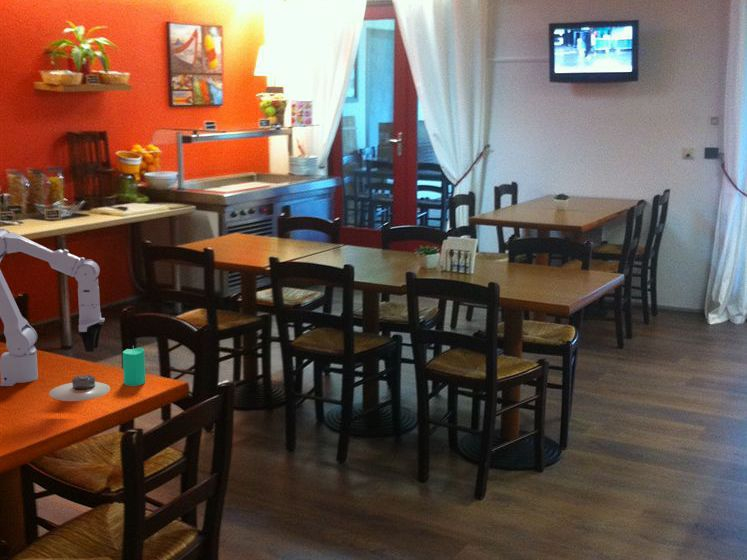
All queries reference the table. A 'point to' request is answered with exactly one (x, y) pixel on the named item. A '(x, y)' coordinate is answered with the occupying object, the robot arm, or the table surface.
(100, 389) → the cream flat disc
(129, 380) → the candle
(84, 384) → the cover
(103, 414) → the table surface
